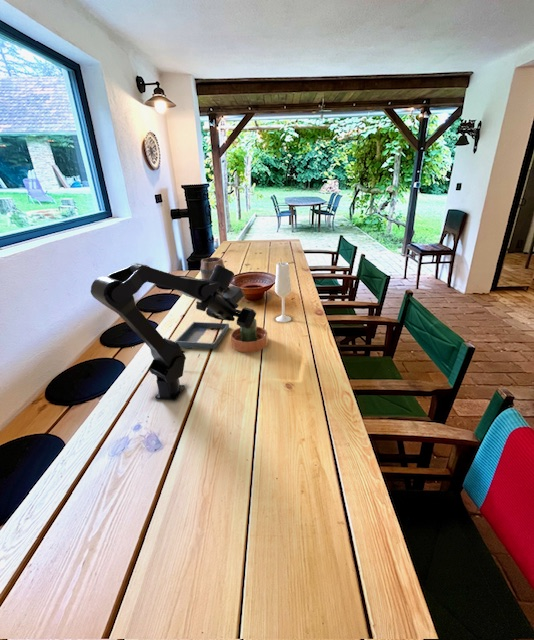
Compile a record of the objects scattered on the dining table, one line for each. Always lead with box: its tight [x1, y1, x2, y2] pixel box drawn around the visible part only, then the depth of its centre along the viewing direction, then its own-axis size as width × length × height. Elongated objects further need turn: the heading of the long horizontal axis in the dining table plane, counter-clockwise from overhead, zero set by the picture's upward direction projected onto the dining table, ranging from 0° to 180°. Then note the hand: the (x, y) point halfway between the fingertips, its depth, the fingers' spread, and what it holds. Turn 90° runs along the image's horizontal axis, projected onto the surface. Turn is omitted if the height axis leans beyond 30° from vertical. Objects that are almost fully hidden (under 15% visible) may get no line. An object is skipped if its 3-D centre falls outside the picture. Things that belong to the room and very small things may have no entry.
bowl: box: [229, 325, 269, 353], centre depth 117 cm, size 13×13×4 cm
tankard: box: [199, 256, 226, 295], centre depth 163 cm, size 24×17×20 cm
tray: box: [174, 321, 230, 350], centre depth 124 cm, size 17×15×2 cm
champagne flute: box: [274, 262, 292, 323], centre depth 133 cm, size 7×7×24 cm
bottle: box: [239, 318, 258, 342], centre depth 115 cm, size 6×6×13 cm
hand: (243, 322), depth 112 cm, fingers open, 9 cm apart
